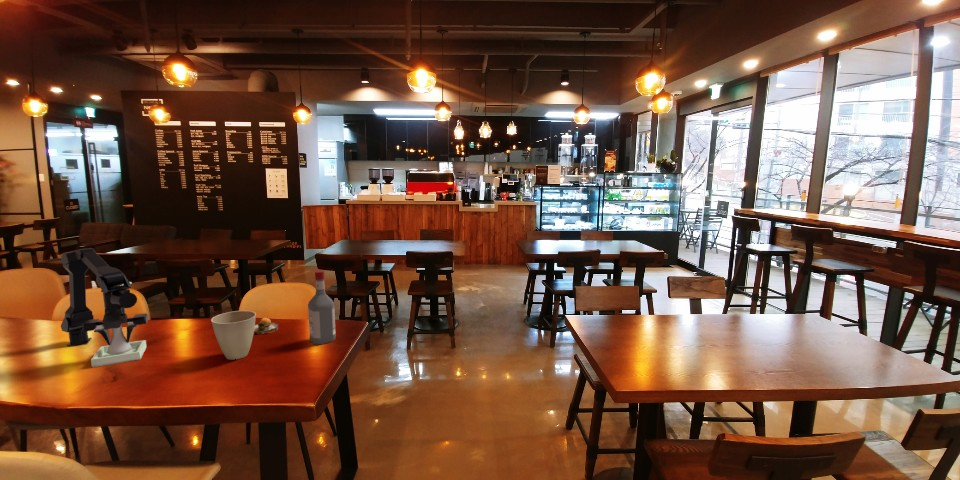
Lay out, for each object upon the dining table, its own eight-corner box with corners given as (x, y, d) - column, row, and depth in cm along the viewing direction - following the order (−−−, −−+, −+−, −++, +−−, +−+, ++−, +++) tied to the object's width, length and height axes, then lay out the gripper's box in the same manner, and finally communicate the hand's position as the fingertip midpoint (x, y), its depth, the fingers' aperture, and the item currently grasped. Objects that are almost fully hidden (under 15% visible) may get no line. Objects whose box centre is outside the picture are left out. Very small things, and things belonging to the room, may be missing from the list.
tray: (101, 353, 168) (101, 346, 168) (146, 347, 175) (145, 340, 175) (91, 367, 156) (90, 359, 156) (140, 359, 163) (139, 352, 163)
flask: (118, 356, 161) (115, 330, 160) (102, 354, 163) (99, 329, 161) (136, 348, 168) (134, 324, 167) (121, 347, 170) (118, 322, 168)
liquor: (316, 346, 177) (312, 275, 173) (308, 339, 184) (304, 271, 180) (337, 340, 183) (334, 271, 179) (329, 334, 190) (325, 268, 186)
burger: (270, 324, 204) (269, 309, 203) (283, 329, 197) (282, 313, 196) (244, 331, 194) (243, 315, 193) (257, 337, 187) (256, 320, 186)
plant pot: (205, 360, 163) (201, 320, 160) (239, 346, 176) (236, 309, 174) (234, 366, 158) (231, 325, 155) (267, 351, 171) (264, 313, 169)
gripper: (74, 313, 151) (80, 356, 154) (141, 306, 161) (145, 346, 163) (84, 305, 161) (89, 345, 163) (146, 299, 170) (150, 336, 172)
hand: (119, 343), depth 165 cm, fingers closed on flask, 5 cm apart
